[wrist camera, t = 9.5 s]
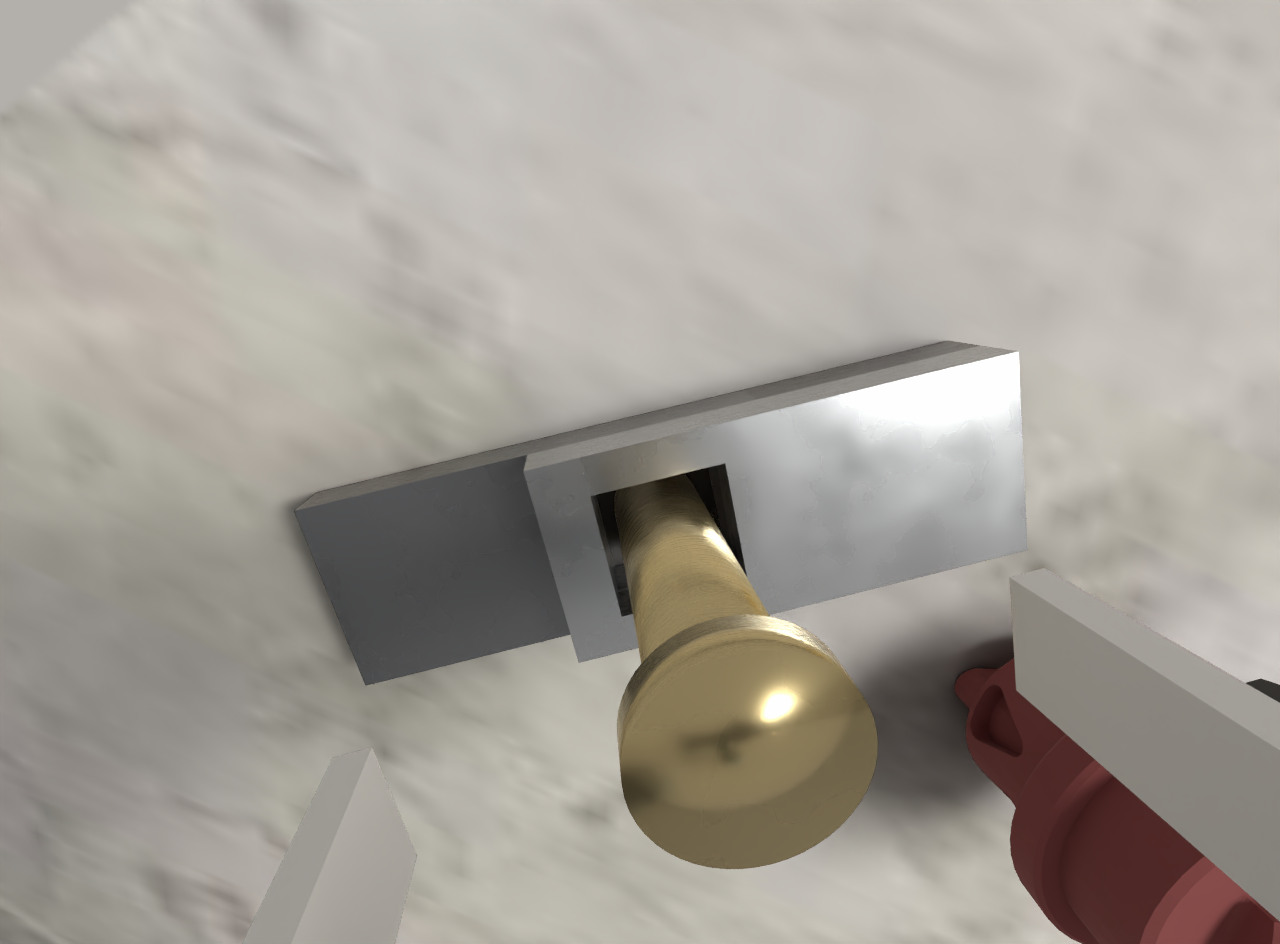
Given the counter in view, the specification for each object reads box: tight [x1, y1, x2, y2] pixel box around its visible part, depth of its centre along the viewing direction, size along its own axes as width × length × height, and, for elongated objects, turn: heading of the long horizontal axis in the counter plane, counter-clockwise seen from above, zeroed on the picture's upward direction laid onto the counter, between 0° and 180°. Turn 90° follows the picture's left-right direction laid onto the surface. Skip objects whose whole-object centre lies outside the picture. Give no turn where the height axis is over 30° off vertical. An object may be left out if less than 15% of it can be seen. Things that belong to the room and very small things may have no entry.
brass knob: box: [614, 473, 878, 869], centre depth 18 cm, size 5×5×14 cm
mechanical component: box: [955, 658, 1280, 944], centre depth 23 cm, size 12×10×10 cm
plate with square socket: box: [294, 341, 1027, 685], centre depth 23 cm, size 24×7×4 cm, turn 103°
